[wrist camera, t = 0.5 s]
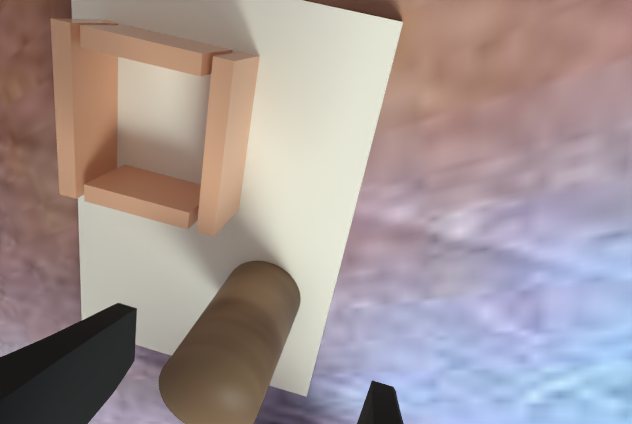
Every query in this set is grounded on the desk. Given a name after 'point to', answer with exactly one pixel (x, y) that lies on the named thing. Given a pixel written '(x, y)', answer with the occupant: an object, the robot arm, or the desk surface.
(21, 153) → the desk surface
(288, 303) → the walnut peg
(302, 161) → the off-white board
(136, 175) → the square wooden frame
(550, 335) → the desk surface
